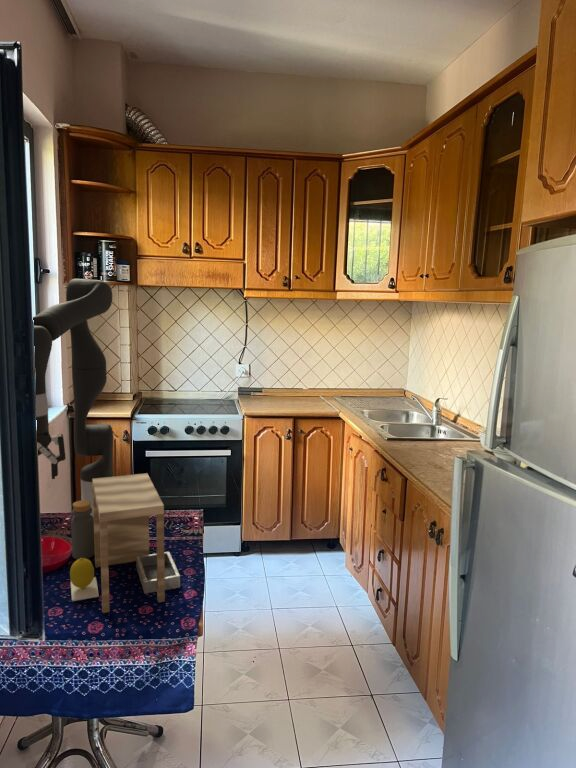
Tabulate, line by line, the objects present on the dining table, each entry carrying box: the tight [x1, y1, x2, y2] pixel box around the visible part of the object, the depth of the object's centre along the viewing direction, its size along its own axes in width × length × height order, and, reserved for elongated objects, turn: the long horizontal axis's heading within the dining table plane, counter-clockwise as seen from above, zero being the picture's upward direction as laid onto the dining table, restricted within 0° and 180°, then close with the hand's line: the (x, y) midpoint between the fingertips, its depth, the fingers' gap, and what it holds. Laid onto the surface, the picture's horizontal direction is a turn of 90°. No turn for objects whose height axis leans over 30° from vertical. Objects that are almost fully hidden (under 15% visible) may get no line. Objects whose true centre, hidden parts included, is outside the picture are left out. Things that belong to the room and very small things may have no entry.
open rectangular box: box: [135, 551, 181, 595], centre depth 142 cm, size 14×9×3 cm, turn 23°
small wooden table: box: [92, 472, 166, 614], centre depth 137 cm, size 24×14×24 cm, turn 23°
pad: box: [70, 576, 100, 602], centre depth 135 cm, size 9×6×1 cm, turn 23°
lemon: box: [69, 558, 95, 589], centre depth 134 cm, size 6×6×8 cm
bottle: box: [70, 500, 95, 560], centre depth 151 cm, size 6×6×15 cm
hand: (33, 480), depth 129 cm, fingers open, 8 cm apart
